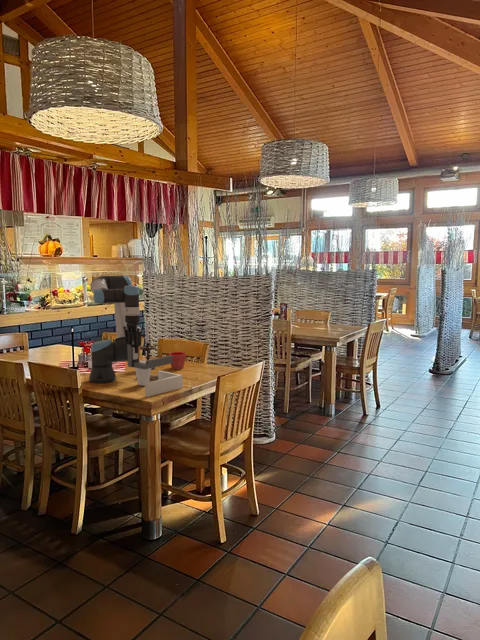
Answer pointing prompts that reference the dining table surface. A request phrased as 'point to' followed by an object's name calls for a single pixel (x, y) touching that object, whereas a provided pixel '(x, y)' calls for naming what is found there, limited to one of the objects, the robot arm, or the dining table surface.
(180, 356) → the flower pot
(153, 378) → the walnut stick
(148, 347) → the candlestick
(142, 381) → the cup
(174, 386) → the cubby
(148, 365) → the crook tool
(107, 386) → the dining table surface
